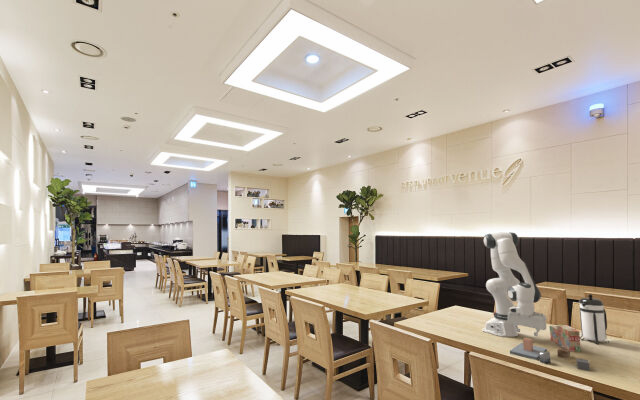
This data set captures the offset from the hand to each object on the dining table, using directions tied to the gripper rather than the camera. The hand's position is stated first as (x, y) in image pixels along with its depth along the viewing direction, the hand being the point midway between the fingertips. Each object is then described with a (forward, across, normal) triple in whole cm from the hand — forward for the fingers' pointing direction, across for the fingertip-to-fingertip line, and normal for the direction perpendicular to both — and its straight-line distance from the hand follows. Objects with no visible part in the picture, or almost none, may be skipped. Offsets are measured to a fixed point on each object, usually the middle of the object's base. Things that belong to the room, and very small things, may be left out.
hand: (526, 333), depth 200 cm
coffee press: (+11, -24, -52) cm, 58 cm away
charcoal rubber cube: (+10, -28, +6) cm, 30 cm away
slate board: (+10, -1, +1) cm, 11 cm away
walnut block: (+10, -17, -6) cm, 21 cm away
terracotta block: (+9, -1, +1) cm, 9 cm away
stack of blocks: (+11, -13, -28) cm, 33 cm away
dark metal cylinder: (+10, -12, +11) cm, 19 cm away
